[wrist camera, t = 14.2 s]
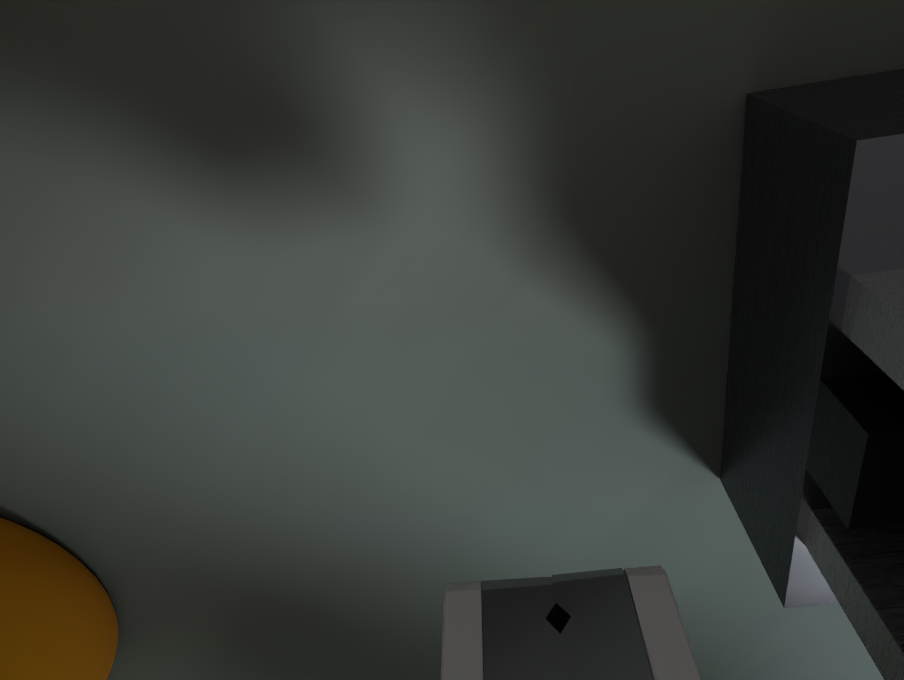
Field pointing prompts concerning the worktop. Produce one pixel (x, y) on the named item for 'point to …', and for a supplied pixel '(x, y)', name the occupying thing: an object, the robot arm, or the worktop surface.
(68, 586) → the beer bottle
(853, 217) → the base
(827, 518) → the notched grey block
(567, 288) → the worktop surface
